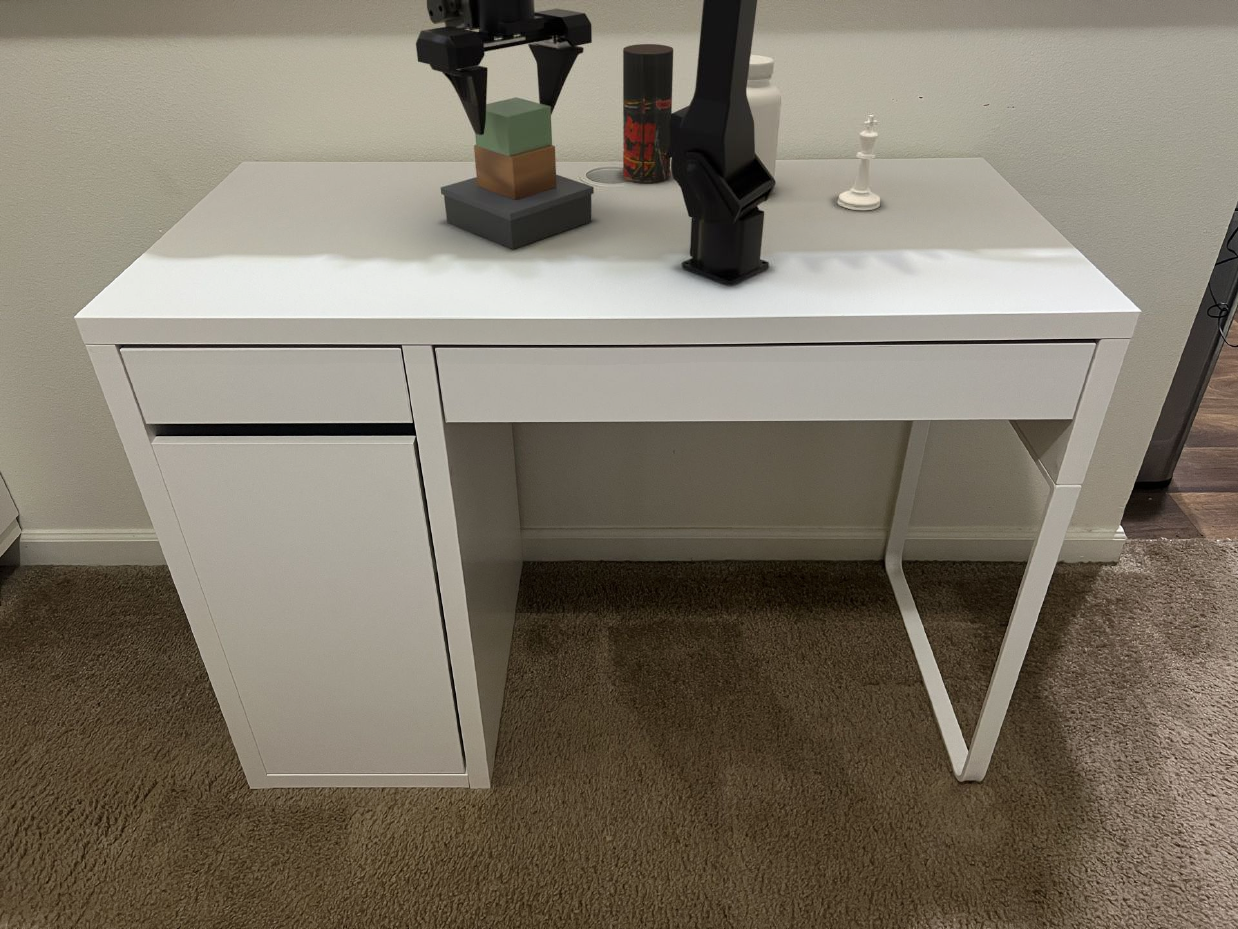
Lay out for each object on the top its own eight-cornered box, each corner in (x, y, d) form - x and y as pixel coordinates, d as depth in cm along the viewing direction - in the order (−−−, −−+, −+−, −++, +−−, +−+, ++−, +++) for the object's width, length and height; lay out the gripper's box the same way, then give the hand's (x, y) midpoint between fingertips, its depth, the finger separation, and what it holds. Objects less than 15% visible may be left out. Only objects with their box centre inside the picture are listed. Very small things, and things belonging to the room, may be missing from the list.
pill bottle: (771, 180, 115) (783, 52, 107) (774, 202, 109) (787, 67, 100) (708, 178, 116) (715, 50, 107) (707, 200, 110) (714, 65, 101)
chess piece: (888, 207, 107) (903, 118, 102) (852, 213, 106) (865, 123, 100) (864, 194, 111) (877, 108, 105) (829, 199, 110) (840, 112, 104)
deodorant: (617, 171, 119) (616, 45, 110) (660, 166, 120) (663, 42, 112) (631, 185, 114) (632, 55, 105) (676, 180, 116) (680, 52, 107)
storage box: (594, 221, 104) (593, 186, 101) (512, 250, 97) (509, 213, 94) (525, 196, 111) (523, 163, 108) (444, 222, 104) (440, 187, 101)
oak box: (557, 187, 101) (555, 145, 99) (515, 200, 98) (512, 157, 95) (518, 174, 105) (516, 133, 102) (477, 186, 102) (473, 145, 99)
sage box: (552, 144, 99) (550, 106, 97) (509, 156, 96) (506, 116, 93) (518, 134, 102) (516, 97, 100) (476, 145, 99) (472, 107, 96)
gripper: (521, -55, 99) (530, 97, 108) (372, -40, 88) (396, 128, 97) (593, -47, 92) (596, 114, 101) (442, -29, 82) (460, 149, 90)
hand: (513, 125), depth 98 cm, fingers open, 9 cm apart
